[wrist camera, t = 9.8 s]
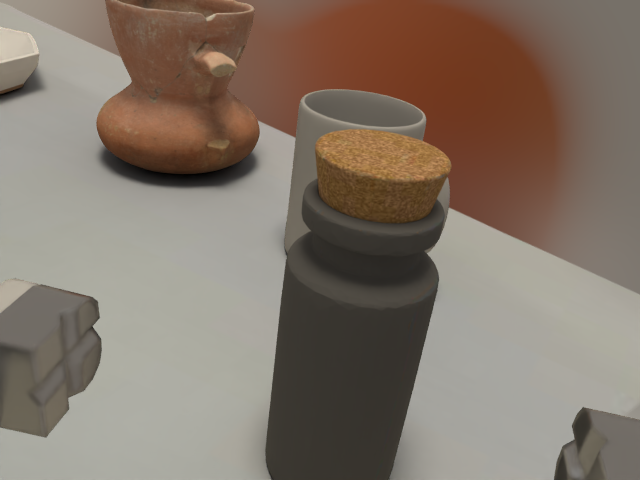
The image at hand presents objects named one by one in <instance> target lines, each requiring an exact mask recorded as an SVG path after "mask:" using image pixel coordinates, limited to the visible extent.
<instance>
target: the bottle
mask: <svg viewBox="0 0 640 480" xmlns="http://www.w3.org/2000/svg"><path fill="white" fill-rule="evenodd" d="M315 156H316V168H317V179H315V180H313V181H312V182H310V183H309V184H308V185H307V187H306V188H305V190H304V194H303V201H302V212H301V214H302V218H303V221H304V223H305V224H306V226H307V227H308V228H309V229H310V230H311V231H309V232H307V233H306V234H304V235H303V236H301V237H300V238H298V239H297V240H296V241H295V242H294V243H293V244H292V246H291V247H290V249H289V251H288V254H287V259H286V266H285V274H284V282H283V290H282V298H281V307H280V316H279V326H278V335H277V345H276V354H275V364H274V373H273V383H272V392H271V402H270V411H269V421H268V430H267V441H266V461H267V466H268V469H269V472H270V474H271V476H272V478H273V480H388V479H389V476H390V474H391V471H392V468H393V464H394V460H395V456H396V452H397V448H398V445H399V441H400V437H401V433H402V429H403V425H404V422H405V418H406V414H407V410H408V406H409V402H410V398H411V394H412V391H413V387H414V383H415V379H416V375H417V371H418V367H419V363H420V359H421V355H422V350H423V346H424V342H425V338H426V334H427V330H428V326H429V322H430V318H431V314H432V310H433V306H434V302H435V297H436V293H437V288H438V282H439V276H438V271H437V268H436V266H435V264H434V262H433V261H432V259H431V258H430V257H429V256H428V255H427V253H426V252H425V250H427V249H429V248H431V247H432V246H434V245H435V244H436V243H437V241H438V240H439V238H440V235H441V232H442V228H443V223H444V219H445V212H444V208H443V206H442V205H441V203H440V202H439V201H438V200H437V197H438V195H439V193H440V191H441V189H442V187H443V185H444V183H445V181H446V179H447V177H448V174H449V172H450V170H451V162H450V160H449V158H448V157H447V156H446V155H445V154H444V153H443V152H442V151H440V150H439V149H437V148H436V147H434V146H431V145H430V144H428V143H426V142H423V141H421V140H418V139H415V138H412V137H408V136H405V135H401V134H397V133H391V132H385V131H379V130H367V129H349V130H341V131H334V132H331V133H328V134H325V135H323V136H321V137H320V138H319V139H318V140H317V142H316V144H315Z"/></svg>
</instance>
